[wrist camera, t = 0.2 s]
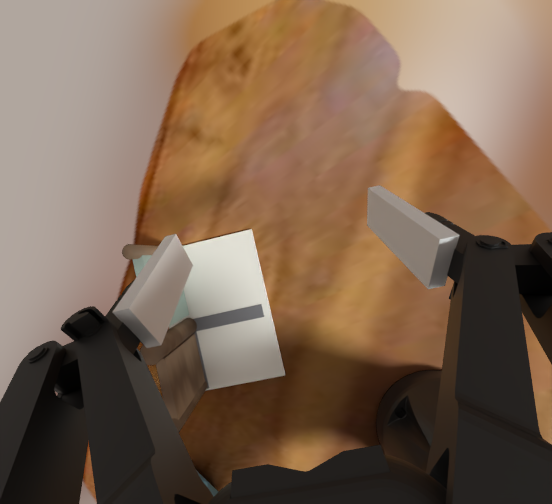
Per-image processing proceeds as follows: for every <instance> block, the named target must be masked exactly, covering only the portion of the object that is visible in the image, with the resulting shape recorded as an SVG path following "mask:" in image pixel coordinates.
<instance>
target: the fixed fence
mask: <svg viewBox="0 0 552 504" xmlns="http://www.w3.org/2000/svg"><path fill="white" fill-rule="evenodd" d="M196 329H197V324H196V322H195V321H194V320H193V319H192V318H186V319H184V320H183V321H181V322H179V323H178V324H176V325H175V326H173V327H171V328H170V329H168V330H167V332H166V335H165V337H164V340H163V342H162V345H160V346H155V347H150V348H146V347H145V346H144V345H143V346H142V347H141V349H140V352H141V354H142V356H143V358H144V360H145V362H146V364H147V365H155V364H156V368H157V372H158V377H159V381H160V386H161V391H162V395H163V400H164V403H165V405H166V407H167V409H168V411H169V413H170V416H171V418H172V420H173V422H174V424H175V426H176V428H177V430H178V433H179V432H180V430H181V428H182V427H183V425H184V424H185V422H186V421H187V419H188V417H189V416H190V414H191V413H192V411H193V409H194V408H195V406H196V405H197V403H198V402H199V400H200V398H201V397H202V395H203V394H204V392H205V390H206V389H207V386H208V385H207V382H206V381H205V378H204V373H203V369H202V364H201V360H200V355H199V351H198V347H197V342H196V338H195V334H193V333H195V331H196Z"/></svg>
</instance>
